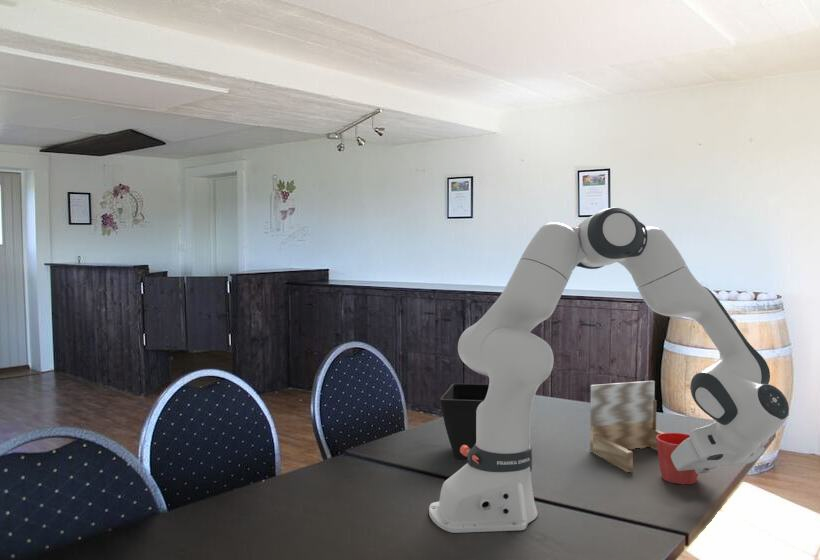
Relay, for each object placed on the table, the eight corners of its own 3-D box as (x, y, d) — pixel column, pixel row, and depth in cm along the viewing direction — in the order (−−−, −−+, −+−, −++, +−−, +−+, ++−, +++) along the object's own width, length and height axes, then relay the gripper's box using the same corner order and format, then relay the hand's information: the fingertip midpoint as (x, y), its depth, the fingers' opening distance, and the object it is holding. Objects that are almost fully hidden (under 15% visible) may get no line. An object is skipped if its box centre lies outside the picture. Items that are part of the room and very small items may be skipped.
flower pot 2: (695, 471, 168) (695, 432, 167) (710, 487, 157) (711, 446, 156) (650, 470, 169) (651, 431, 168) (662, 486, 158) (663, 445, 157)
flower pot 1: (439, 462, 176) (439, 397, 175) (452, 441, 194) (452, 382, 193) (514, 468, 171) (514, 401, 170) (520, 445, 189) (520, 385, 188)
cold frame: (627, 472, 167) (628, 399, 166) (590, 451, 184) (590, 385, 183) (694, 465, 172) (695, 394, 171) (652, 445, 189) (652, 380, 188)
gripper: (765, 423, 150) (732, 453, 160) (684, 430, 145) (655, 461, 155) (780, 449, 146) (745, 478, 156) (698, 457, 141) (667, 487, 151)
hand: (700, 470), depth 155 cm, fingers closed
